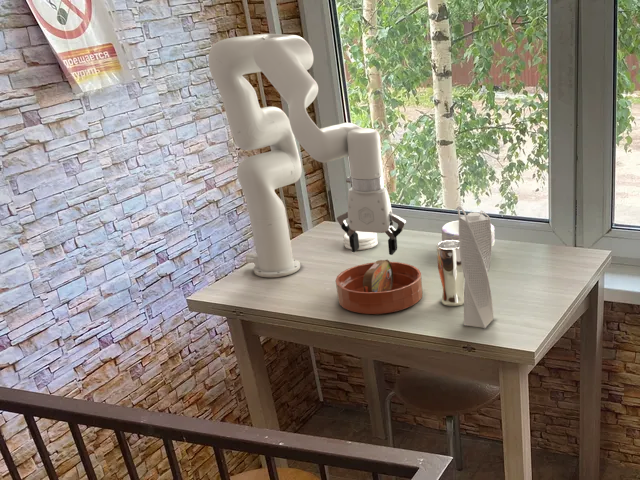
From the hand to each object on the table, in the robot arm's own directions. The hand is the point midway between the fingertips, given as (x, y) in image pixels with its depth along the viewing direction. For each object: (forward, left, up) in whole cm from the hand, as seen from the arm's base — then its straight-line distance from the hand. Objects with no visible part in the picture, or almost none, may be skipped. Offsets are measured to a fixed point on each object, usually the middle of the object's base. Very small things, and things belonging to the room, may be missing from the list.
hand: (374, 251), depth 196 cm
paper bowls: (+15, +36, -13) cm, 41 cm away
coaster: (-19, +38, -13) cm, 44 cm away
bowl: (+1, 0, -13) cm, 13 cm away
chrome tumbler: (+20, +1, -13) cm, 23 cm away
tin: (0, 0, -12) cm, 12 cm away
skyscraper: (+29, -10, -13) cm, 33 cm away
